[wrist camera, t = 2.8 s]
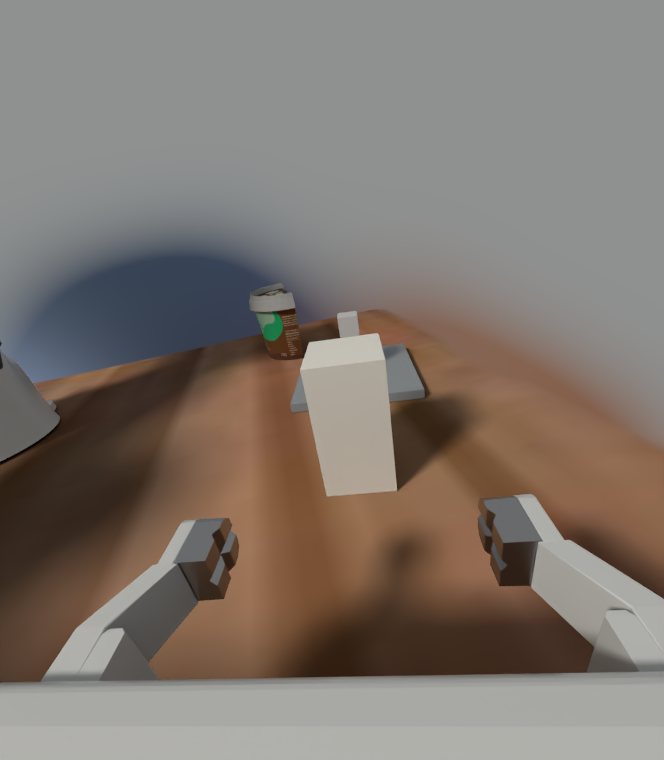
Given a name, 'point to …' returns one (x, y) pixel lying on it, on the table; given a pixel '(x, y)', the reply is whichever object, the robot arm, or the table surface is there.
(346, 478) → the tall white pillar
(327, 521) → the table surface
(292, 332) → the food container
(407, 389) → the post stand
